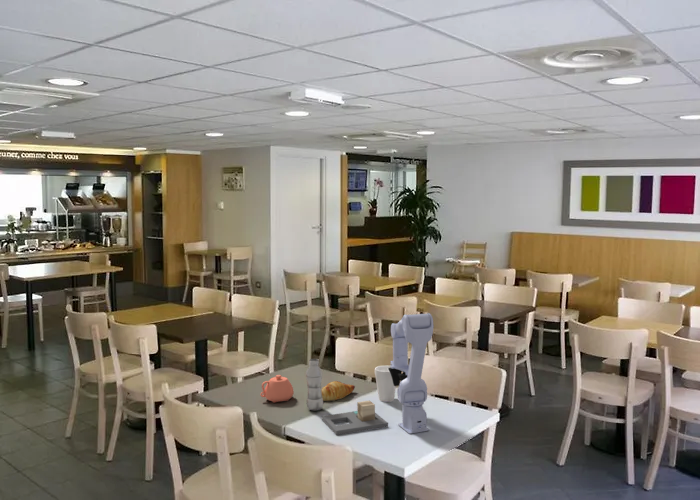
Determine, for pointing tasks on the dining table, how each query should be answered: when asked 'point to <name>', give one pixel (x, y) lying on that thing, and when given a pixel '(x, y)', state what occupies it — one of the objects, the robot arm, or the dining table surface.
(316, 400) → the plastic bottle
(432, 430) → the dining table surface
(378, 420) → the socket panel
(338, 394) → the croissant
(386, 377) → the foam cup
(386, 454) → the dining table surface
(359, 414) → the plug
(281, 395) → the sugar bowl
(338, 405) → the dining table surface
